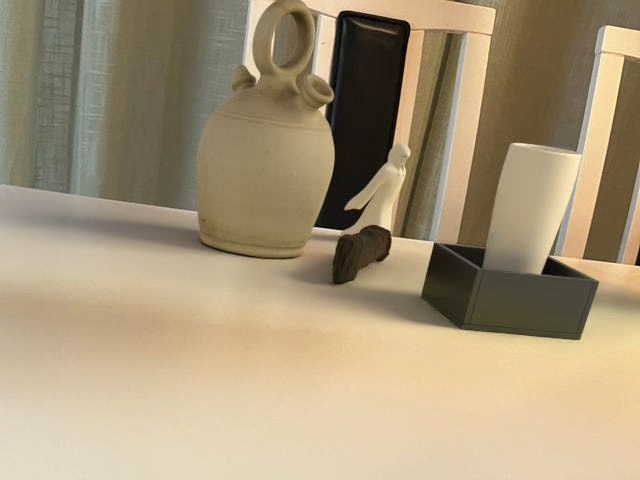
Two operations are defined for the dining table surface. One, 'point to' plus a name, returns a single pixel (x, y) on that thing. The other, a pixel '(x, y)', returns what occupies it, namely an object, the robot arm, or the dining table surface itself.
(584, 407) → the dining table surface
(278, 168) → the jug
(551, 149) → the drinking glass
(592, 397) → the dining table surface
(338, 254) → the rough brown chunk
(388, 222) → the figurine
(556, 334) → the bin
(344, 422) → the dining table surface
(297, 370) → the dining table surface
